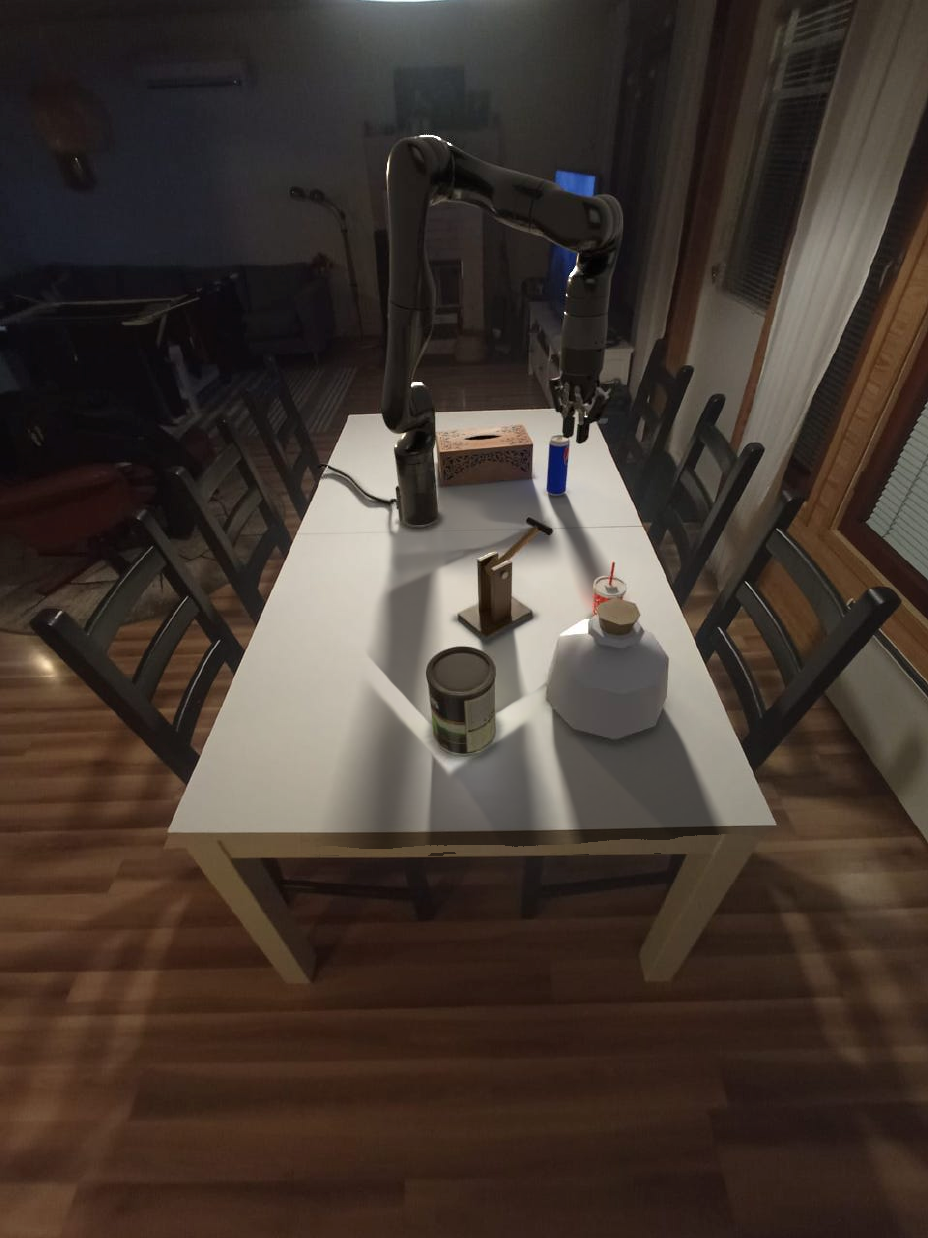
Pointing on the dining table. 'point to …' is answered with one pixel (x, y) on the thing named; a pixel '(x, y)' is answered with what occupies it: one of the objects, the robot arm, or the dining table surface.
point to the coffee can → (462, 700)
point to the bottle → (609, 673)
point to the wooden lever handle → (520, 542)
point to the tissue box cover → (484, 454)
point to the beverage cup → (607, 589)
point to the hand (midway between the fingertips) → (574, 439)
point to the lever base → (494, 599)
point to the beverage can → (557, 465)
